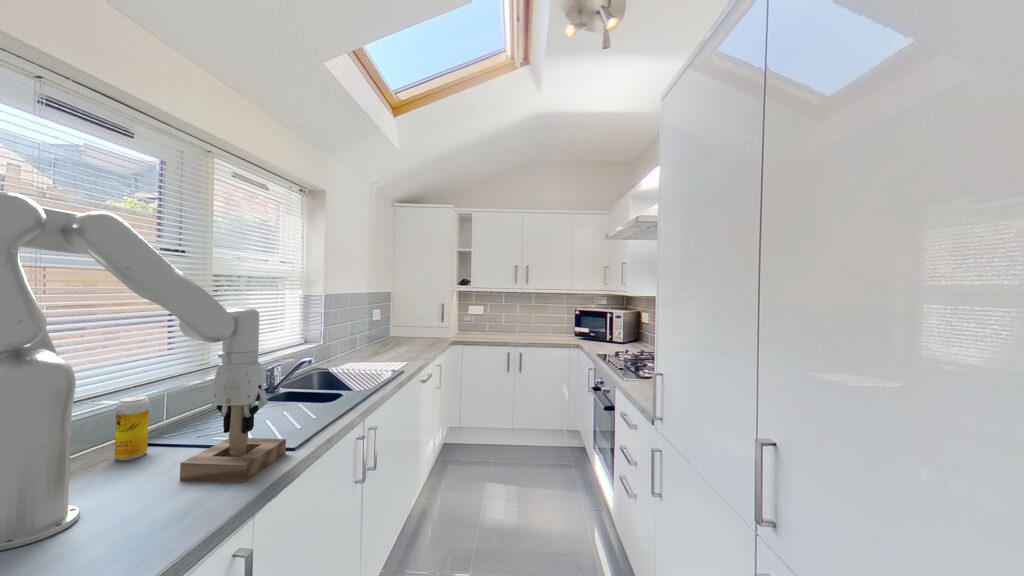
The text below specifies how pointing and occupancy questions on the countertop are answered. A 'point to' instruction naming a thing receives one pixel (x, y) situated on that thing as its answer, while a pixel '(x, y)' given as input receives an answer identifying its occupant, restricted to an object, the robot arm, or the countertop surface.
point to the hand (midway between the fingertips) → (238, 430)
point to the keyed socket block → (232, 461)
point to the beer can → (131, 427)
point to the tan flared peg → (237, 431)
